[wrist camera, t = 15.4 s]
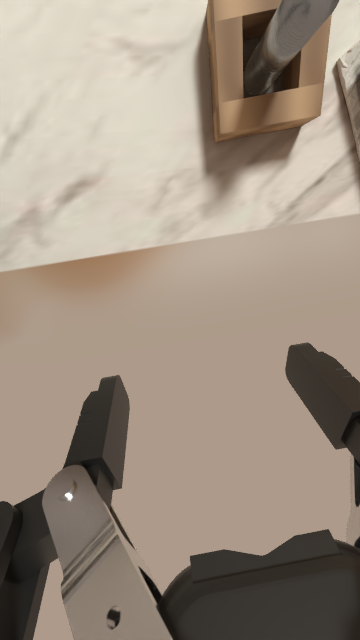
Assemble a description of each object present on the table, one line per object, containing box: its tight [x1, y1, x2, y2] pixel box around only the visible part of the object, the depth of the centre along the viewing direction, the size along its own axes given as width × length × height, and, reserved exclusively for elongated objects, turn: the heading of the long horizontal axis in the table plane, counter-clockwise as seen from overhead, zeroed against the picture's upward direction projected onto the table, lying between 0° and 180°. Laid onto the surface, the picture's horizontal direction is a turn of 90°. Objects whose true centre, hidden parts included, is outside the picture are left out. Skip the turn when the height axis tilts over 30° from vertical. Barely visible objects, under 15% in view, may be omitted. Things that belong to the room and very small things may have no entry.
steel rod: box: [244, 0, 339, 95], centre depth 20 cm, size 3×3×12 cm
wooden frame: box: [206, 0, 332, 142], centre depth 24 cm, size 11×11×4 cm
